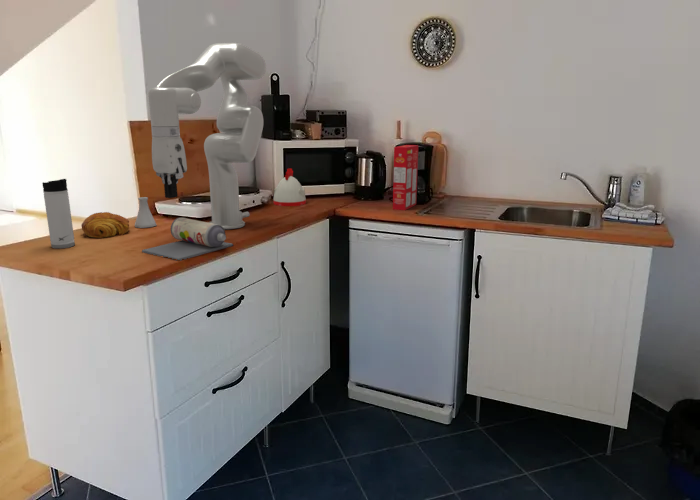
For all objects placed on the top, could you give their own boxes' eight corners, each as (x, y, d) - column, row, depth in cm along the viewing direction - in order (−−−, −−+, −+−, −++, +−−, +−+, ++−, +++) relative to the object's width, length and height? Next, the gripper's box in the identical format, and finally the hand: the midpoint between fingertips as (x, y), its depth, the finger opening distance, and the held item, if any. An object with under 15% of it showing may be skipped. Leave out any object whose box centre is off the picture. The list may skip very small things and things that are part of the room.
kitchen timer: (309, 201, 236) (309, 167, 232) (300, 207, 223) (299, 170, 219) (280, 200, 239) (279, 166, 235) (268, 205, 226) (267, 169, 222)
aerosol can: (166, 227, 160) (210, 237, 149) (181, 212, 164) (225, 220, 152) (178, 244, 165) (221, 254, 153) (192, 229, 168) (236, 238, 157)
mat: (197, 238, 169) (197, 236, 169) (233, 245, 160) (233, 243, 160) (142, 252, 153) (141, 250, 153) (178, 260, 144) (178, 258, 144)
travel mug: (66, 249, 156) (57, 180, 150) (46, 248, 157) (36, 180, 151) (80, 244, 161) (72, 177, 156) (61, 243, 163) (51, 177, 157)
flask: (140, 229, 181) (137, 200, 179) (130, 226, 186) (127, 197, 183) (160, 226, 186) (158, 197, 184) (150, 223, 191) (147, 195, 188)
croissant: (79, 246, 168) (75, 222, 165) (87, 229, 182) (83, 206, 178) (128, 242, 171) (125, 219, 168) (133, 225, 185) (129, 203, 182)
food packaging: (404, 203, 231) (406, 144, 225) (416, 204, 229) (418, 145, 223) (392, 209, 218) (394, 147, 212) (404, 210, 216) (406, 147, 210)
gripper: (194, 133, 150) (198, 198, 155) (160, 131, 158) (165, 193, 163) (172, 134, 144) (177, 201, 149) (138, 132, 152) (144, 196, 157)
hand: (171, 197), depth 156 cm, fingers closed
